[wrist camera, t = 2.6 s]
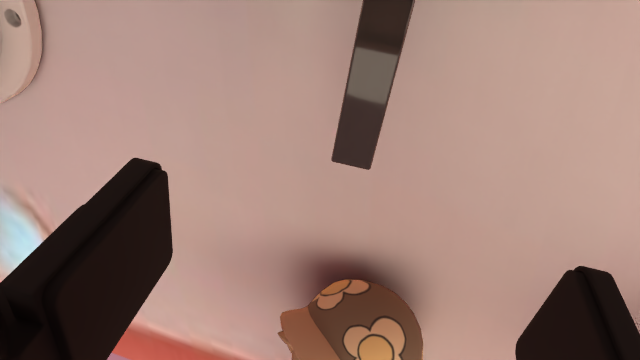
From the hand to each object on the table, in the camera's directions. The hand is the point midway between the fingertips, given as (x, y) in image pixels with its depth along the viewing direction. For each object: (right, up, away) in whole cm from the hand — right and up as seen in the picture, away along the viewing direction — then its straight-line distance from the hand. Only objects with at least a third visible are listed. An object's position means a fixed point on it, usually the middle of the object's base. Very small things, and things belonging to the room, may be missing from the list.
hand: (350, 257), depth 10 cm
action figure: (+2, -9, +23) cm, 25 cm away
